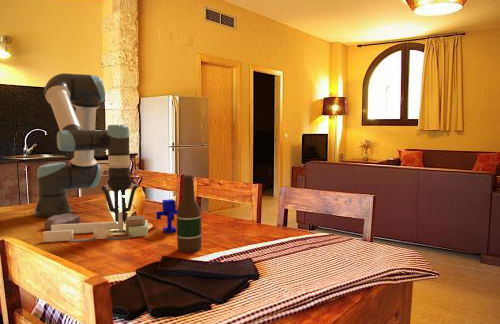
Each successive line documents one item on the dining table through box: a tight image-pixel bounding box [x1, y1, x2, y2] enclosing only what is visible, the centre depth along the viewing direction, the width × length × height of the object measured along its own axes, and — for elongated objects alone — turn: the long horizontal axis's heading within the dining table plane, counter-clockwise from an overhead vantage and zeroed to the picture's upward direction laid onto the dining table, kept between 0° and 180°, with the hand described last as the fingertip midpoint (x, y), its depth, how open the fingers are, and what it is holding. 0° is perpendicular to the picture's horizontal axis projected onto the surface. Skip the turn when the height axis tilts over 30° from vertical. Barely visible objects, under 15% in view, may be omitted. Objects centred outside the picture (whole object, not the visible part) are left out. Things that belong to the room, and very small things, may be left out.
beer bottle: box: [176, 174, 203, 254], centre depth 129 cm, size 8×8×24 cm
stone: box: [44, 213, 82, 231], centre depth 161 cm, size 12×9×5 cm
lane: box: [42, 219, 149, 243], centre depth 148 cm, size 11×35×4 cm, turn 102°
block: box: [125, 215, 145, 237], centre depth 150 cm, size 6×6×6 cm
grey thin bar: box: [69, 236, 131, 243], centre depth 142 cm, size 2×20×1 cm, turn 102°
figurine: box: [155, 198, 177, 234], centre depth 152 cm, size 8×8×12 cm
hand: (121, 229), depth 150 cm, fingers closed
